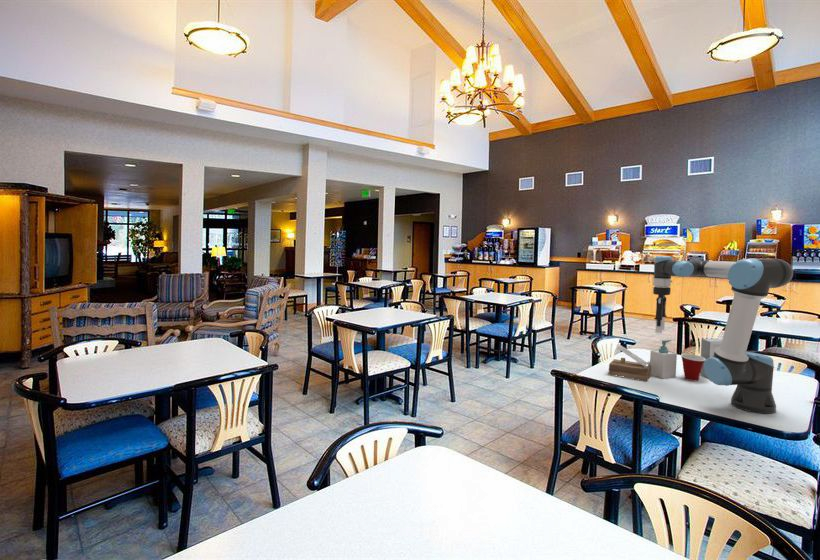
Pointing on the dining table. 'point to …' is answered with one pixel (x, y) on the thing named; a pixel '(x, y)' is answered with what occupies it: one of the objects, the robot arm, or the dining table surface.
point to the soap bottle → (663, 362)
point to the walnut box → (630, 369)
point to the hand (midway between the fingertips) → (659, 331)
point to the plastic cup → (692, 366)
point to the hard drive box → (708, 350)
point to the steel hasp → (633, 356)
